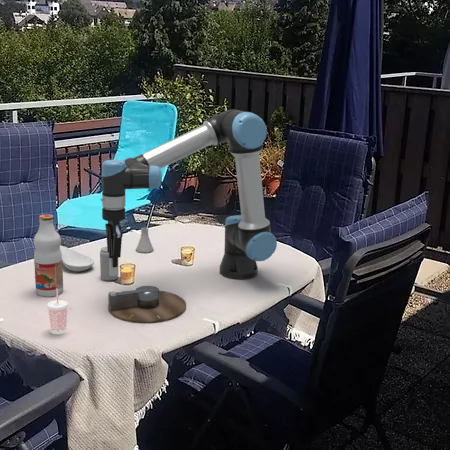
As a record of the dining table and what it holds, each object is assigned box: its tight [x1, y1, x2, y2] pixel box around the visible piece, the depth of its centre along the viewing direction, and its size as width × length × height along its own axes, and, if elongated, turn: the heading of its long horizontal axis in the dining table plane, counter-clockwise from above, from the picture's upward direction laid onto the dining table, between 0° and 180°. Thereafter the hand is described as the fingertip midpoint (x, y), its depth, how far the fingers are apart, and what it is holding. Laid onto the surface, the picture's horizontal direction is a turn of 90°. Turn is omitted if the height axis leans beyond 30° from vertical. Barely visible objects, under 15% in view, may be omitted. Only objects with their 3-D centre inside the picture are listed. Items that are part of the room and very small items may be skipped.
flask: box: [135, 227, 154, 254], centre depth 271 cm, size 7×7×10 cm
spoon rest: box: [60, 245, 95, 272], centre depth 250 cm, size 24×12×7 cm, turn 55°
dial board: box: [107, 290, 187, 324], centre depth 213 cm, size 26×26×1 cm
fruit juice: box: [33, 213, 64, 297], centre depth 220 cm, size 9×9×28 cm
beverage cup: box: [46, 288, 69, 335], centre depth 192 cm, size 6×6×14 cm
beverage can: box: [99, 246, 119, 282], centre depth 236 cm, size 6×6×12 cm
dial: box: [107, 285, 160, 310], centre depth 210 cm, size 17×8×6 cm, turn 115°
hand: (113, 275), depth 213 cm, fingers closed
